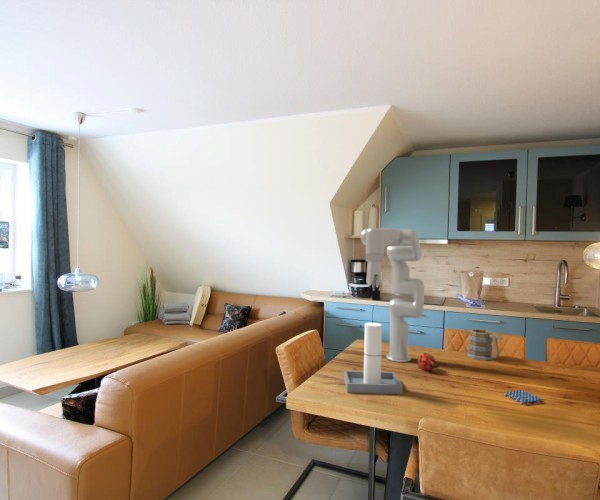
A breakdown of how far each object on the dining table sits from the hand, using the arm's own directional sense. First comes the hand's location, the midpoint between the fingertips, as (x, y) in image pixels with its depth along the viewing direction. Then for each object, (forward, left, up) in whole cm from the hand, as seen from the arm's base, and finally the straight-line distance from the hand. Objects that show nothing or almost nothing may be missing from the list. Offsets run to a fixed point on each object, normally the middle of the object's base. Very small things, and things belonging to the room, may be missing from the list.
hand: (374, 298), depth 161 cm
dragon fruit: (-22, +30, -37) cm, 53 cm away
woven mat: (+9, +58, -38) cm, 70 cm away
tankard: (-44, +67, -37) cm, 88 cm away
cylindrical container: (0, 0, -36) cm, 36 cm away
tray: (0, 0, -37) cm, 37 cm away
